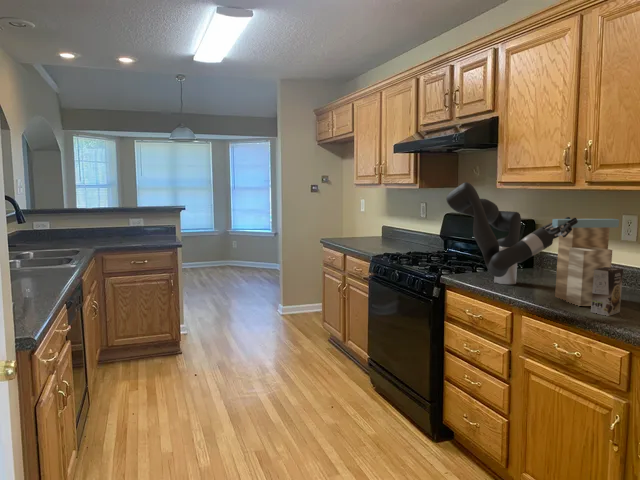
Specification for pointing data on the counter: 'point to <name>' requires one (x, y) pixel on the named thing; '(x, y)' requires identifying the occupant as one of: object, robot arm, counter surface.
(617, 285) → the coffee box
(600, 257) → the beige tall block
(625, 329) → the counter surface
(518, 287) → the counter surface
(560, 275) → the wooden tall block
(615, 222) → the bar
